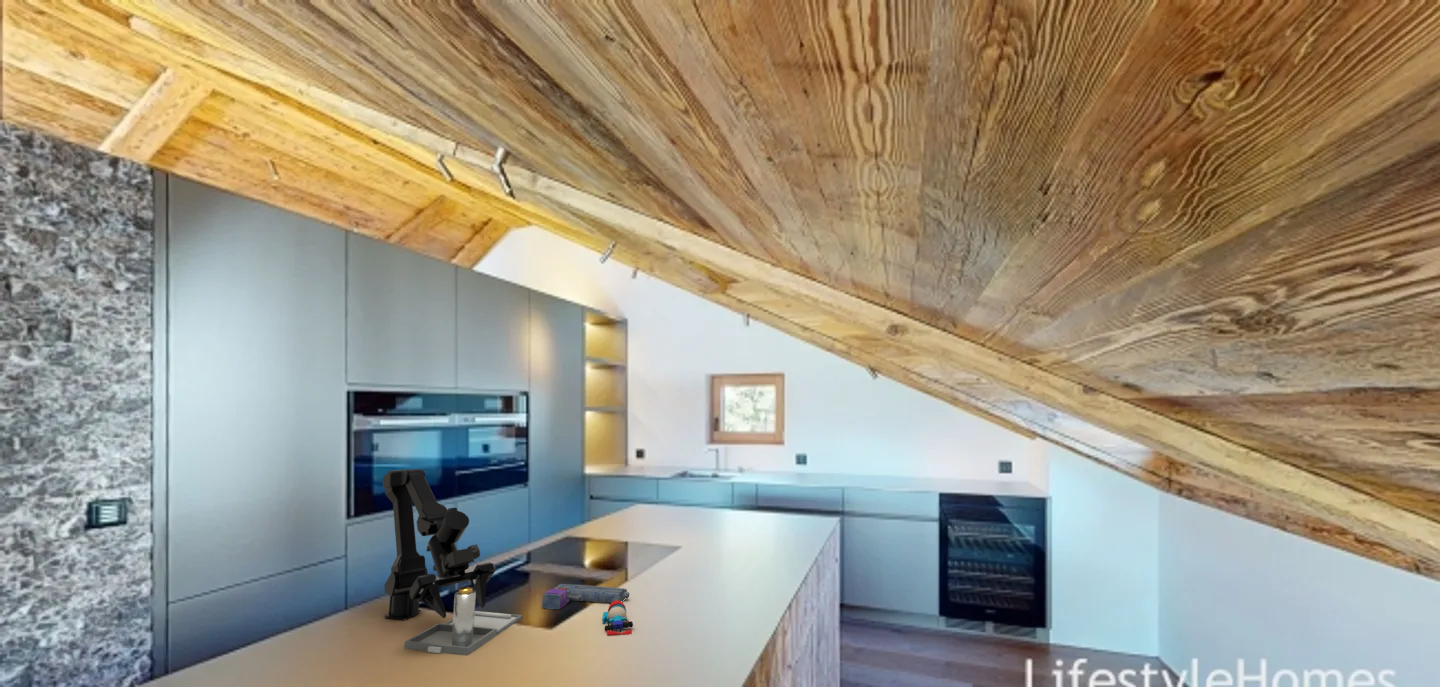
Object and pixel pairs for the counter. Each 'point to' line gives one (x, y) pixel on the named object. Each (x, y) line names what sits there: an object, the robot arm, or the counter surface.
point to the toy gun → (581, 595)
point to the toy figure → (616, 619)
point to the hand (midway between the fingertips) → (464, 611)
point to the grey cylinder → (463, 617)
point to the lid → (493, 620)
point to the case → (448, 640)
